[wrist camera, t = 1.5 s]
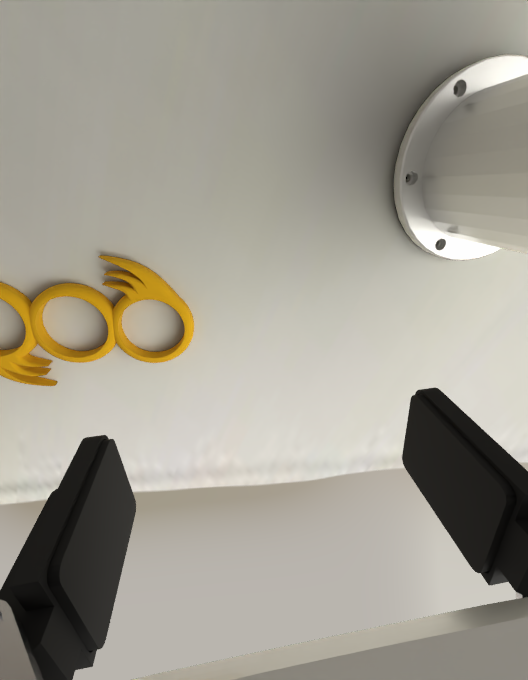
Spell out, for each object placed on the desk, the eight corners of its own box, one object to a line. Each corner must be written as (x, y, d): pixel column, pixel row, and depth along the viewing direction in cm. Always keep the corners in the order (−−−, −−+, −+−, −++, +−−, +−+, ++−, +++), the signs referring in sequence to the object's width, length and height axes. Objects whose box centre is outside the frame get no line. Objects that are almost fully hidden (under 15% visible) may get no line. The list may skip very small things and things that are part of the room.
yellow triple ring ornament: (193, 378, 28) (194, 259, 24) (192, 388, 27) (193, 264, 23) (-30, 378, 25) (-72, 242, 21) (-44, 389, 24) (-91, 246, 20)
